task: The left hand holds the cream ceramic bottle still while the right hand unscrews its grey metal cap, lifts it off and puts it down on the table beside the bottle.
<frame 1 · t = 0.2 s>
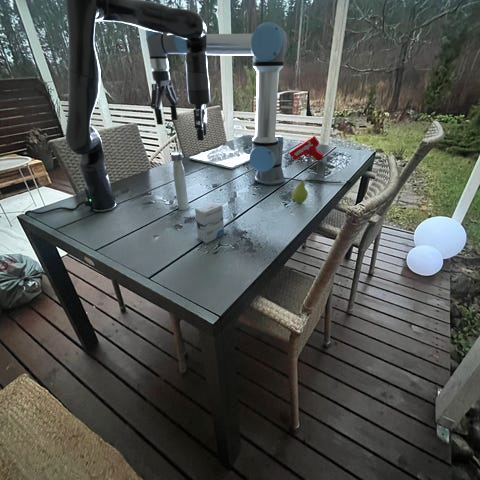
left hand: (202, 137, 101), 29 cm above the table, tool pointing down, fingers open, 8 cm apart
right hand: (167, 122, 132), 29 cm above the table, tool pointing down, fingers open, 13 cm apart
toy gun: (305, 160, 175), on the table
bottle: (183, 208, 117), on the table
fruit: (299, 202, 122), on the table
ink box: (211, 236, 97), on the table
cap: (176, 154, 105), point 23 cm above the table, screwed on, not yet turned
relief map: (223, 158, 179), on the table
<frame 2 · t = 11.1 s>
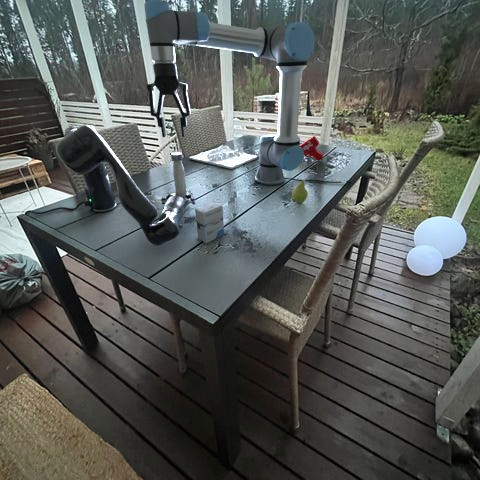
left hand: (182, 191, 116), 6 cm above the table, tool horizontal, fingers closed on bottle, 4 cm apart
right hand: (174, 136, 101), 30 cm above the table, tool pointing down, fingers open, 6 cm apart
bottle: (183, 208, 117), on the table, touching left hand
everything else where it was.
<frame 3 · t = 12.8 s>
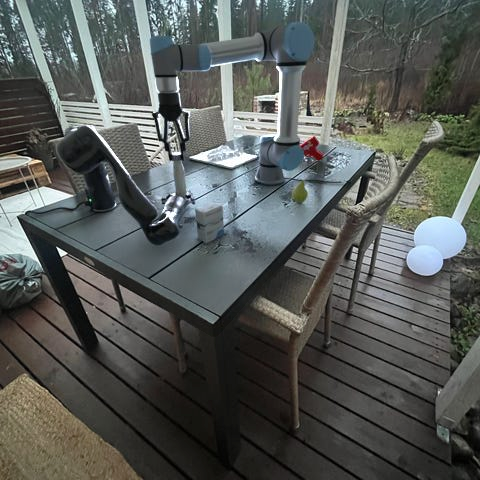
left hand: (182, 191, 116), 6 cm above the table, tool horizontal, fingers closed on bottle, 4 cm apart
right hand: (177, 159, 106), 21 cm above the table, tool pointing down, fingers closed on cap, 4 cm apart
bottle: (183, 208, 117), on the table, touching left hand
cap: (176, 154, 105), point 23 cm above the table, screwed on, not yet turned, touching right hand
everything else where it was.
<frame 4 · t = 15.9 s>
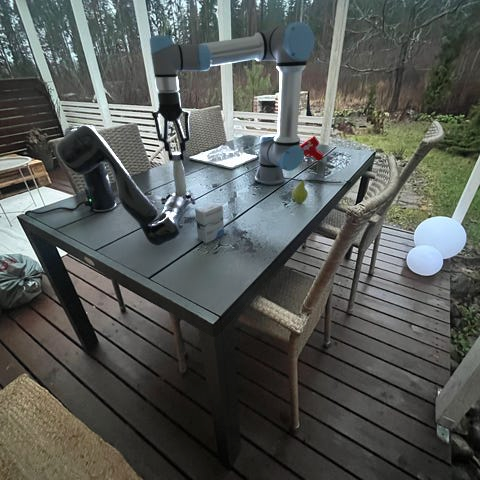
left hand: (182, 191, 116), 6 cm above the table, tool horizontal, fingers closed on bottle, 4 cm apart
right hand: (177, 159, 106), 21 cm above the table, tool pointing down, fingers closed on cap, 4 cm apart
bottle: (183, 208, 117), on the table, touching left hand
cap: (176, 154, 105), point 23 cm above the table, turned 85° so far, risen 0.1 cm, still on its thread, touching right hand
everything else where it was.
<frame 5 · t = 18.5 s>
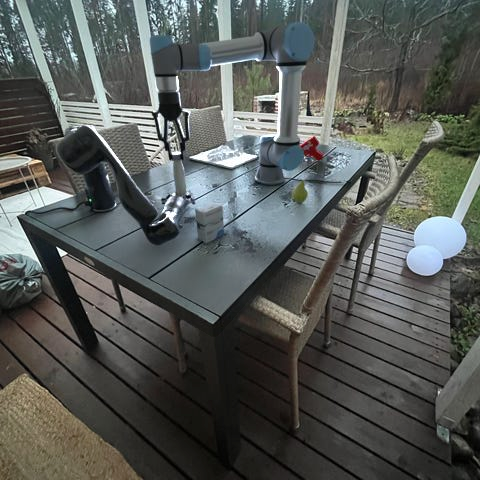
left hand: (182, 191, 116), 6 cm above the table, tool horizontal, fingers closed on bottle, 4 cm apart
right hand: (177, 159, 106), 21 cm above the table, tool pointing down, fingers closed on cap, 4 cm apart
bottle: (183, 208, 117), on the table, touching left hand
cap: (176, 154, 105), point 23 cm above the table, turned 171° so far, risen 0.2 cm, still on its thread, touching right hand
everything else where it was.
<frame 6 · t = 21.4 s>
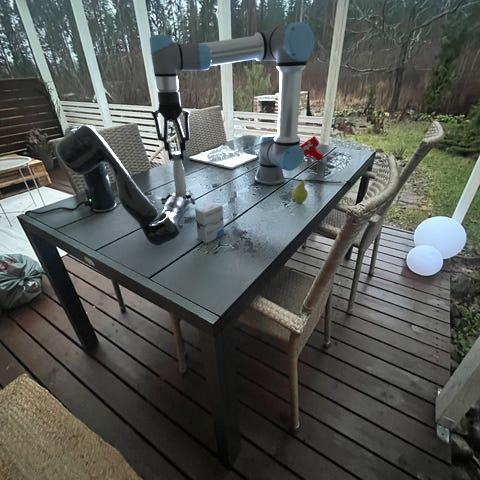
left hand: (182, 191, 116), 6 cm above the table, tool horizontal, fingers closed on bottle, 4 cm apart
right hand: (177, 158, 106), 21 cm above the table, tool pointing down, fingers closed on cap, 4 cm apart
bottle: (183, 208, 117), on the table, touching left hand
cap: (176, 153, 105), point 23 cm above the table, turned 256° so far, risen 0.2 cm, still on its thread, touching right hand
everything else where it was.
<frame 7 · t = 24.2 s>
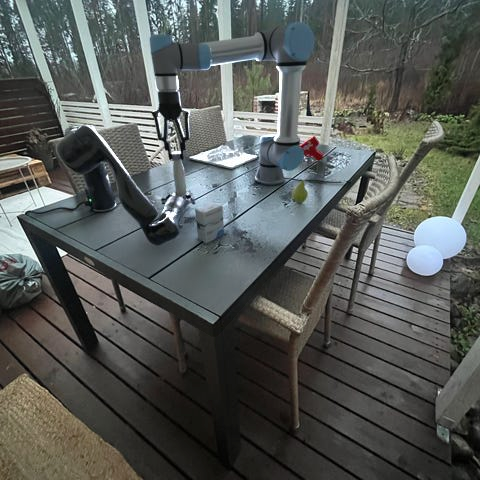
left hand: (182, 191, 116), 6 cm above the table, tool horizontal, fingers closed on bottle, 4 cm apart
right hand: (177, 158, 106), 21 cm above the table, tool pointing down, fingers closed on cap, 4 cm apart
bottle: (183, 208, 117), on the table, touching left hand
cap: (176, 153, 105), point 23 cm above the table, turned 341° so far, risen 0.3 cm, still on its thread, touching right hand
everything else where it was.
when the right hand's fingers open (1 cm above the table, at t = 34.2 s): cap stays where it is, point 2 cm above the table.
when the left hand's fingers open (6 cm above the table, at t = 35.5 s): bottle stays where it is, on the table.
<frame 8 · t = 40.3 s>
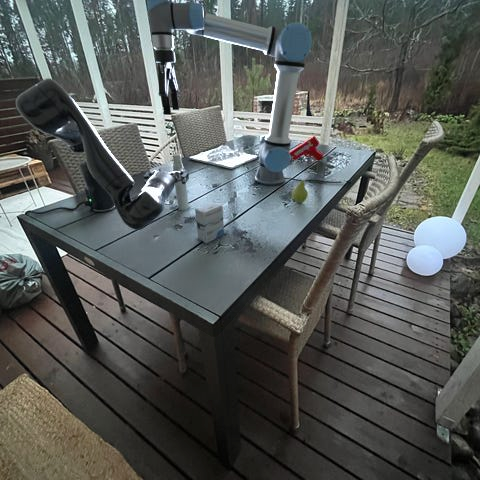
left hand: (171, 170, 97), 20 cm above the table, tool horizontal, fingers open, 8 cm apart
right hand: (172, 112, 113), 36 cm above the table, tool pointing down, fingers open, 13 cm apart
bottle: (183, 208, 117), on the table
cap: (181, 188, 131), point 2 cm above the table, off its thread
everything else where it was.
at the end: cap came off its thread; cap point 2.0 cm above the table; the left hand is holding nothing; the right hand is holding nothing; bottle tilted 0°; bottle moved 0.0 cm from its start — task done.
